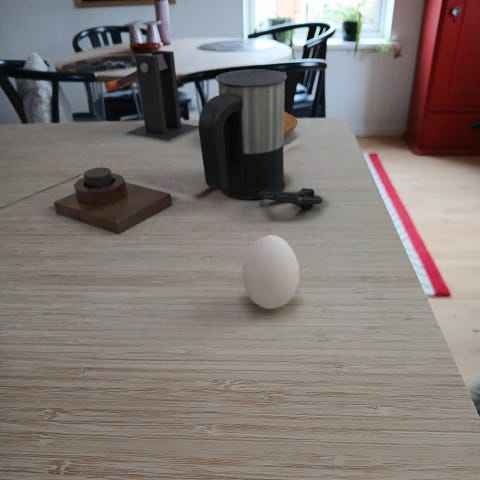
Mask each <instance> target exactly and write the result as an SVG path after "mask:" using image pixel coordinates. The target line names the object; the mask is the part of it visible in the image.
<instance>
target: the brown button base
mask: <svg viewBox="0 0 480 480" xmlns="http://www.w3.org/2000/svg"><path fill="white" fill-rule="evenodd" d="M111 173H112V178H113V184H112V185H109V186H107V187H102V188H87V187H86V184H85V180H84V177H81V178H78V179H77V180H76V182H75V183H74V184H73V188H74V192H73V193H71V194H69V195H66V196H64V197H62V198H60V199H57V200H55V201H53V206H54V209H55V213H56V214H57V215H59V216H63V217H65V218H68V219H72V220H75V221H78V222H81V223H83V224H87V225H90V226H92V227H96V228H99V229H102V230H105V231H107V232H111V233H113V234H116V235H121V234H122V233H124V232H126V231H128V230H130V229H131V228H134V227H136V226H137V225H139V224H140V223H143V222H144V221H146V220H148V219H150V218H152V217H153V216H155V215H158V214H159V213H160V212H163V211H164V210H166V209H168V208H170V207H172V206H173V200H172V194H171V193H170V192H165V191H162V190H158V189H153V188H150V187H146V186H143V185H138V184H135V183H130V182H126V180H125V179H126V178H124V177H123V175H122V174H121V175H120V174H117V173H114V172H111Z"/></svg>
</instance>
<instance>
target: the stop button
mask: <svg viewBox="0 0 480 480" xmlns="http://www.w3.org/2000/svg"><path fill="white" fill-rule="evenodd" d="M112 173H113V172H112V170H111V168H108V167H103V166H102V167H101V166H100V167H93V168H89V169H87V170H85V171H84V172H83V178H84V180H85V184H86V187H87V188H102V187H107V186H109V185H112V184H113V178H112Z"/></svg>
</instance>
